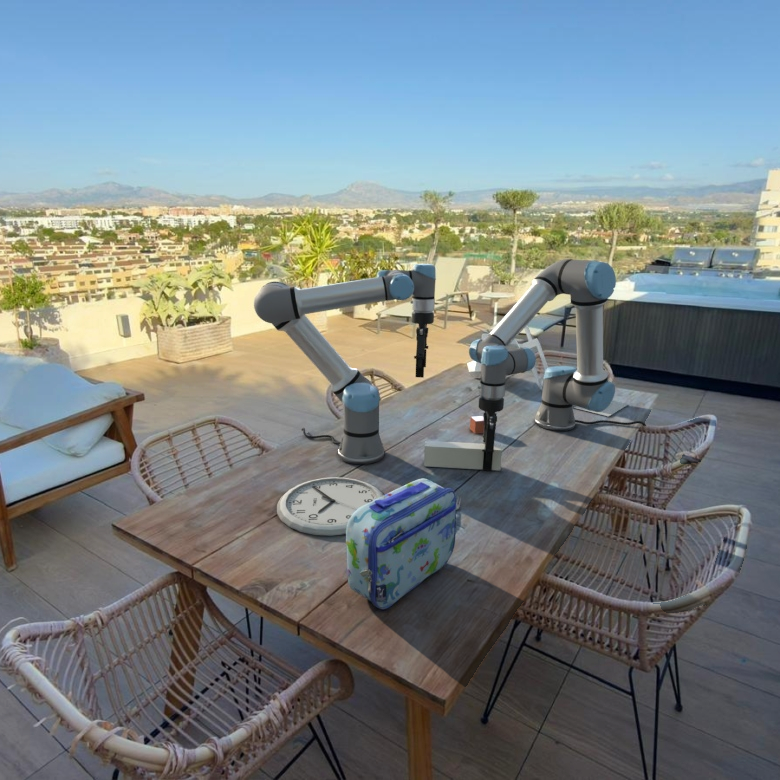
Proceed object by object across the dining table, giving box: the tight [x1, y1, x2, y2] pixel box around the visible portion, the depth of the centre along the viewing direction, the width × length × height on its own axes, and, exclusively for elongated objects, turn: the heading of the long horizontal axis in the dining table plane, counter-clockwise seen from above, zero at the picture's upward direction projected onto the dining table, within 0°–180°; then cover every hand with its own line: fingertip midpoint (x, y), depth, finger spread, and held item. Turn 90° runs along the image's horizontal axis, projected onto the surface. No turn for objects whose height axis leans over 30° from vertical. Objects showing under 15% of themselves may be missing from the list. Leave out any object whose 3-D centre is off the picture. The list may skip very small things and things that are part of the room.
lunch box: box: [345, 477, 457, 610], centre depth 110 cm, size 26×11×21 cm, turn 134°
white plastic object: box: [466, 324, 549, 391], centre depth 258 cm, size 37×45×31 cm
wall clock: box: [276, 476, 385, 537], centre depth 143 cm, size 30×2×30 cm
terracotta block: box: [469, 415, 484, 435], centre depth 196 cm, size 5×5×5 cm
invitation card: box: [573, 400, 628, 418], centre depth 226 cm, size 21×1×15 cm
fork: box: [456, 495, 462, 511], centre depth 138 cm, size 3×16×2 cm, turn 160°
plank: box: [423, 440, 503, 472], centre depth 166 cm, size 24×4×7 cm, turn 83°
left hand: (420, 371), depth 183 cm, fingers open, 13 cm apart
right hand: (486, 465), depth 167 cm, fingers closed on plank, 4 cm apart
